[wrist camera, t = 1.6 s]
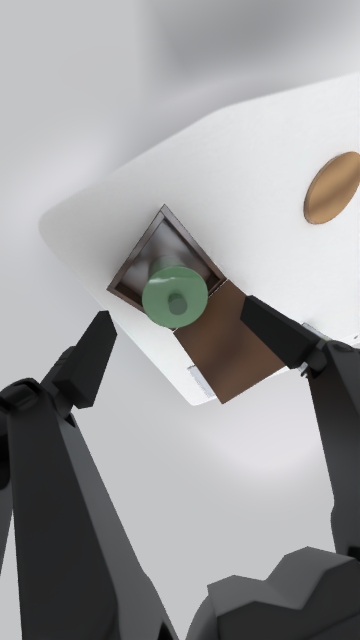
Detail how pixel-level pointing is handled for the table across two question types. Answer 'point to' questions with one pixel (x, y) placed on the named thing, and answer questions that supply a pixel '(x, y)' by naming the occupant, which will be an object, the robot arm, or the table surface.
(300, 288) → the table surface
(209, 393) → the nameplate
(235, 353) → the lid
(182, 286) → the green pot
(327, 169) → the cork trivet
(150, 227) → the wooden box
